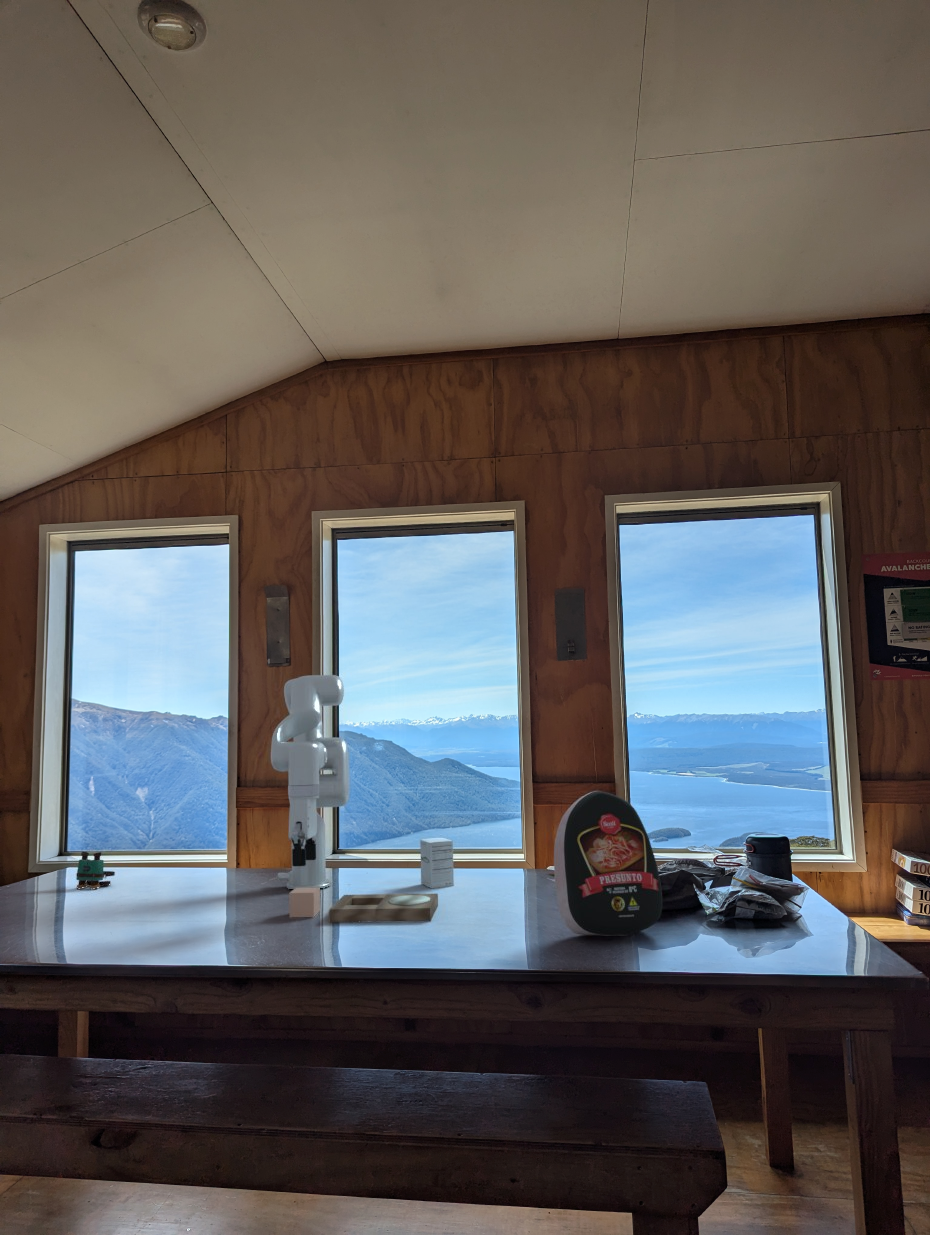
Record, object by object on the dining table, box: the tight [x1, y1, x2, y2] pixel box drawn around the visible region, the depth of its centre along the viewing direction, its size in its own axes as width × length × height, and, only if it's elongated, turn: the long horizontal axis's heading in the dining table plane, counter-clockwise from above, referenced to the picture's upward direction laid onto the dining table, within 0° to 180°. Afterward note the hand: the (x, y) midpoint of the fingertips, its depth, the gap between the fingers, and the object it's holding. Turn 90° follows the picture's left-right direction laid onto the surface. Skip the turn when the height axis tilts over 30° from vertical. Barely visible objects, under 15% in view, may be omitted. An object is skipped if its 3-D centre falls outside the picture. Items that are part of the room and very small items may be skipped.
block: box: [288, 888, 321, 918], centre depth 209 cm, size 6×6×6 cm
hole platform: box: [328, 893, 439, 923], centre depth 207 cm, size 24×16×3 cm, turn 86°
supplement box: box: [419, 836, 455, 889], centre depth 241 cm, size 7×7×13 cm
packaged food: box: [553, 790, 663, 937], centre depth 184 cm, size 22×20×30 cm
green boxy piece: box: [75, 851, 116, 889], centre depth 253 cm, size 9×11×10 cm
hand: (304, 862), depth 209 cm, fingers open, 9 cm apart
